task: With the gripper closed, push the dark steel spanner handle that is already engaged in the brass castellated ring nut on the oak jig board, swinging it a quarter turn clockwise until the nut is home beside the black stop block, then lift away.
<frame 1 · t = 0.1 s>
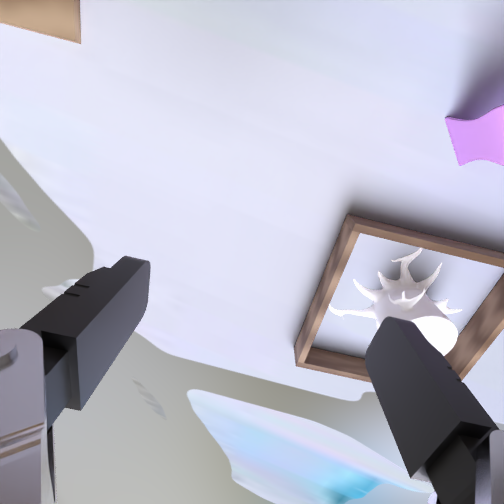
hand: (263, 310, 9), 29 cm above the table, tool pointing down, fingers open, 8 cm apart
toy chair: (489, 121, 32), on the table
tree stump: (394, 303, 44), resting in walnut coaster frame
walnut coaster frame: (396, 307, 43), on the table
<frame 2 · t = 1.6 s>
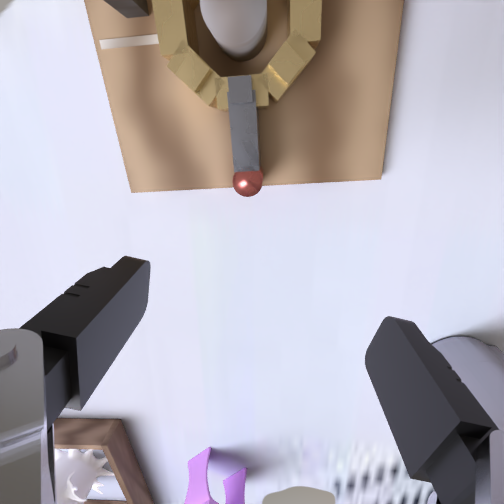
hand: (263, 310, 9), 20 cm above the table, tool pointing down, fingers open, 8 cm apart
ring nut with spanner: (241, 74, 20), point 4 cm above the table, hinge at 0.0°
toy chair: (218, 464, 48), on the table
tree stump: (78, 460, 51), resting in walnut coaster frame
jig board: (242, 34, 22), on the table
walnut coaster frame: (74, 464, 50), on the table
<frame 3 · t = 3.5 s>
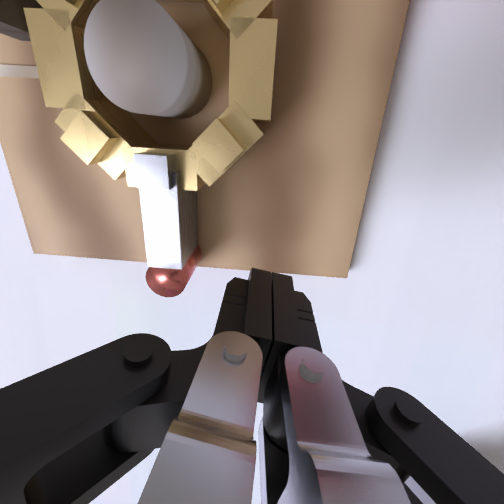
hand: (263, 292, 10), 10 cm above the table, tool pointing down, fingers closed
ring nut with spanner: (166, 142, 15), point 4 cm above the table, hinge at 0.0°
jig board: (183, 82, 17), on the table
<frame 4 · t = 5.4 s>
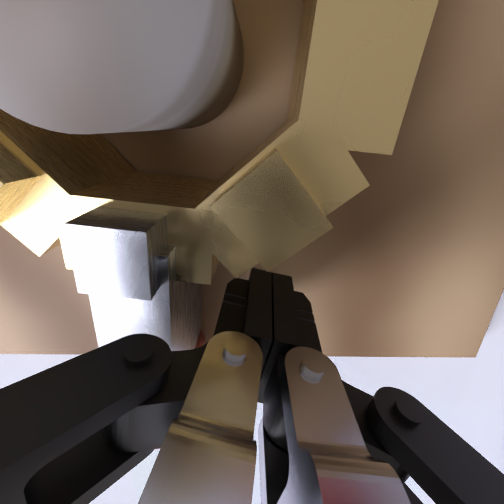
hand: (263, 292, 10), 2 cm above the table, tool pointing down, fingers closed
ring nut with spanner: (150, 181, 7), point 4 cm above the table, hinge at 8.0°, touching gripper
jig board: (185, 61, 9), on the table
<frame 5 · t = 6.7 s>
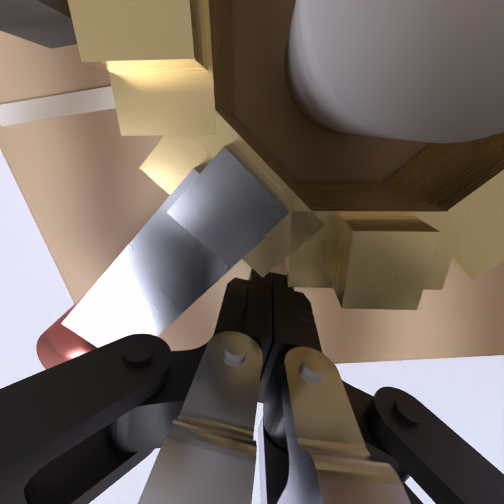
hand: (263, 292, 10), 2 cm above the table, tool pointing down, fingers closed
ring nut with spanner: (274, 150, 7), point 4 cm above the table, hinge at 51.7°, touching gripper
jig board: (344, 65, 9), on the table
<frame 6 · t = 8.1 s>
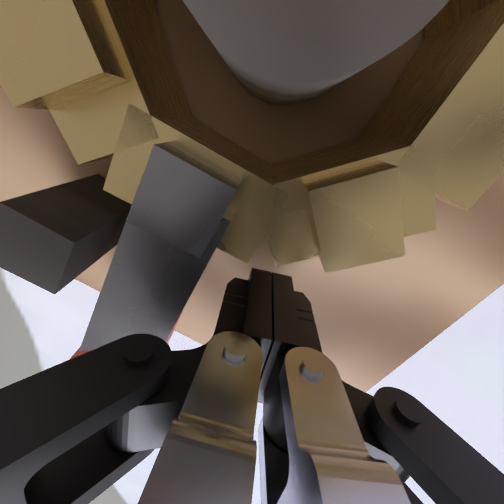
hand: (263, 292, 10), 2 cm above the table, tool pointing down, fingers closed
ring nut with spanner: (226, 137, 7), point 4 cm above the table, hinge at 85.7°, touching gripper
jig board: (287, 36, 9), on the table
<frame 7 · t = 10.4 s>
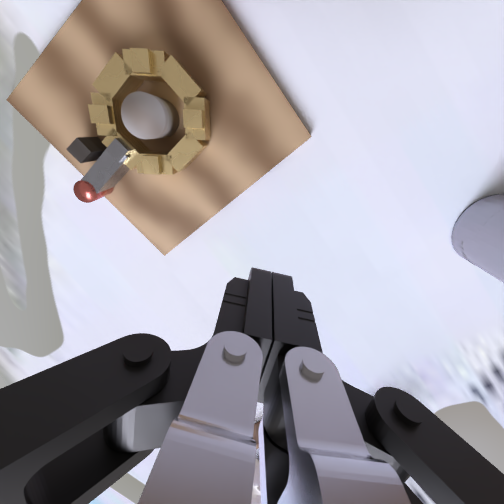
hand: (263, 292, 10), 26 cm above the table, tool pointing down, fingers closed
ring nut with spanner: (134, 140, 29), point 4 cm above the table, hinge at 86.2°
tree stump: (248, 468, 60), resting in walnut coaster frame
jig board: (164, 118, 31), on the table
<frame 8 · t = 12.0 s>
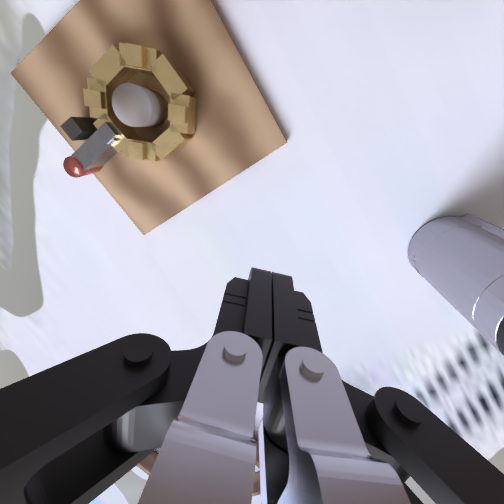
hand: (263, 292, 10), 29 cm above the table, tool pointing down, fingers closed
ring nut with spanner: (123, 125, 32), point 4 cm above the table, hinge at 86.2°
jig board: (154, 109, 34), on the table
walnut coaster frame: (208, 451, 64), on the table
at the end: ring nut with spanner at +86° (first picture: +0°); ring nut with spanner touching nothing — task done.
